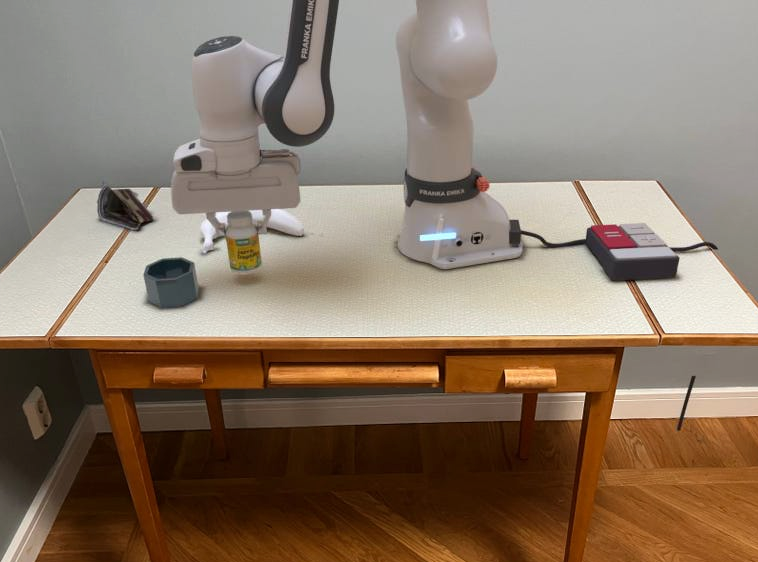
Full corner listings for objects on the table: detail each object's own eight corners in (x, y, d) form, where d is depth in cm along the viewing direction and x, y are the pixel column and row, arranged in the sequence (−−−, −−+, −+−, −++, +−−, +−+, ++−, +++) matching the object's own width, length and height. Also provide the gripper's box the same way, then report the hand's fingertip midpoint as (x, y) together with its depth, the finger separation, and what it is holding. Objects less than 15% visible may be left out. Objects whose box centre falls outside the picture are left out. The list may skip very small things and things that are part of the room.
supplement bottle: (253, 257, 129) (247, 205, 123) (267, 269, 125) (261, 216, 120) (224, 265, 126) (217, 212, 121) (237, 277, 123) (230, 224, 117)
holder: (200, 282, 126) (195, 256, 124) (196, 305, 120) (191, 278, 117) (153, 285, 126) (148, 259, 123) (147, 309, 120) (140, 281, 117)
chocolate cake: (168, 221, 149) (140, 170, 149) (141, 224, 143) (112, 170, 144) (143, 246, 154) (116, 196, 155) (116, 250, 148) (88, 198, 149)
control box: (646, 220, 134) (681, 253, 122) (642, 242, 137) (676, 277, 124) (586, 223, 134) (615, 257, 121) (583, 245, 136) (611, 280, 123)
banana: (309, 225, 145) (289, 259, 133) (217, 224, 148) (190, 257, 136) (306, 201, 142) (286, 234, 130) (212, 201, 145) (184, 233, 134)
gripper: (298, 141, 118) (304, 222, 126) (167, 148, 116) (181, 229, 124) (299, 155, 113) (305, 238, 120) (162, 162, 111) (177, 246, 119)
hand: (241, 234), depth 122 cm, fingers closed on supplement bottle, 5 cm apart
